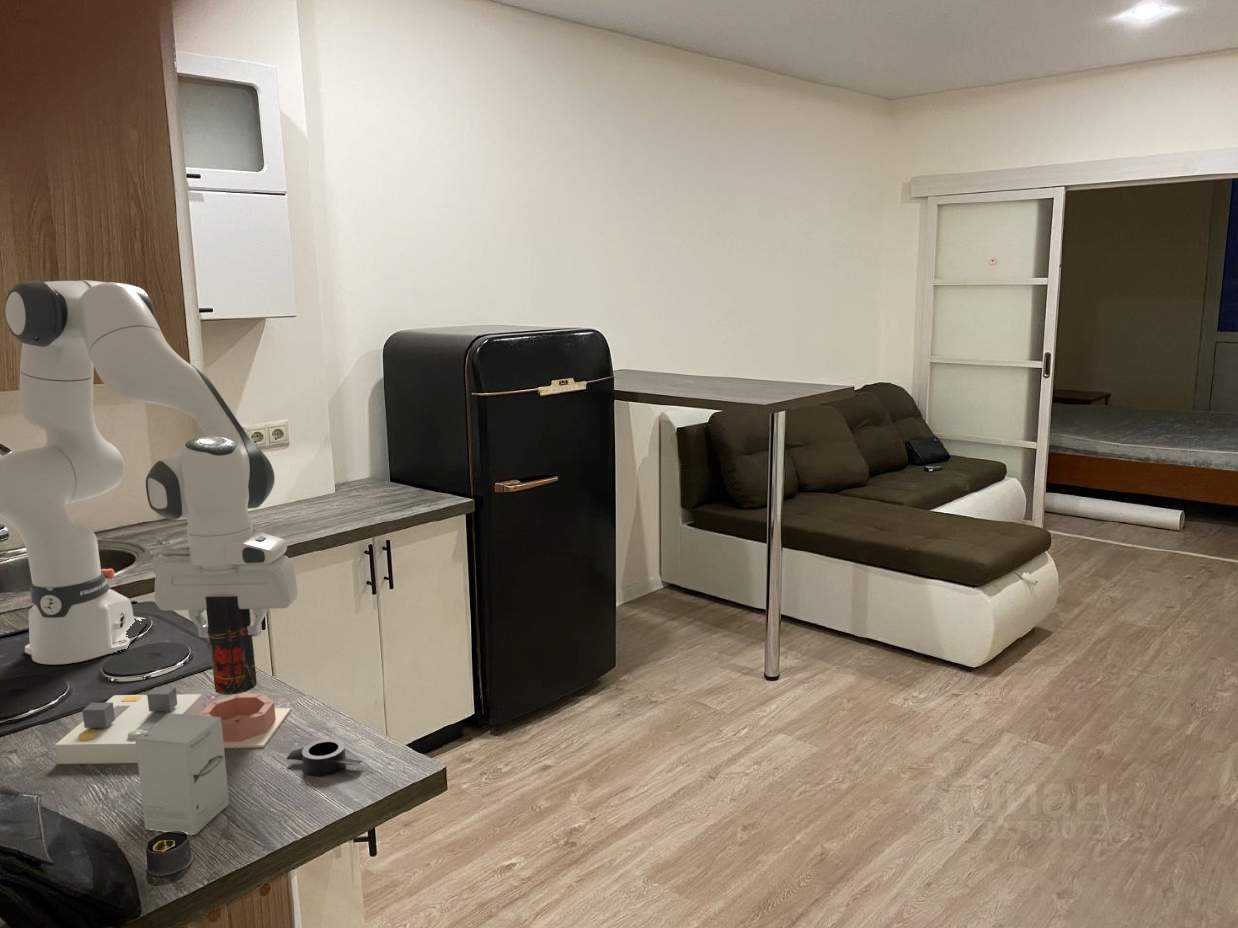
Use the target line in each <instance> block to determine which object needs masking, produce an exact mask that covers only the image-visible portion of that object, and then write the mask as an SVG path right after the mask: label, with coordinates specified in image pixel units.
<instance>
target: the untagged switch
mask: <svg viewBox="0 0 1238 928" xmlns="http://www.w3.org/2000/svg"><path fill="white" fill-rule="evenodd" d="M146 695H147V697H148V706H149V711H171V710H172V709H173V708H174V707H175V706H176V705H177V696H176V695H177V689H176V687H175V686H173V687H172V686H171V687H167V686H166V687H165V686H163V687H154V688H153V689H151V690H150V691H149V692H148V693H147V694H146Z"/></svg>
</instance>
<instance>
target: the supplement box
mask: <svg viewBox="0 0 1238 928" xmlns="http://www.w3.org/2000/svg"><path fill="white" fill-rule="evenodd" d="M135 742H136V751H137V759H138V763H137V768H138V776H139V785H140V794H141V802H142V813H143V821H144V829H145V830H146V829H153V830H163V831H184V832H187V833H188V834H190V833H191V834H193V835H195V834H196V835H197V834H198V833H199V832H200V831H201V830H202V829H203V828H205V826H206V825H207V824H208V823H210V822H211V821H212V820H213V819H214V818H215V817H217V816H218V815H219V814H220V813H221V812H223V811H224V809H226V808H227V807H228V806H229V805H230V798H229V787H228V786H229V785H228V774H227V766H226V765H227V764H226V757H225V756H226V755H225V748H224V743H223V732H222V723H221V717H212V716H201V715H187V714H175V713H174V714H172V715H170V716H169V717H167V718H166V719H164V720H163V721H161V722H160V723H159V724H157V725H156V726H154V727H153V728H151V729H150V730H148V731H147V732H145V733H144V734H142V735H141V736H140V737H138V738H136V739H135ZM196 835H195V836H196Z"/></svg>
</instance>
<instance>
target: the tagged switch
mask: <svg viewBox="0 0 1238 928" xmlns="http://www.w3.org/2000/svg"><path fill="white" fill-rule="evenodd" d="M81 711H82V718H83V719H82V721H84V727H85V728H106V727H108V726H109V725H110V724H111V723H112V722H113V721H114V720H115V716H114V708H113V703H105V702H90V703H89V704H88V705H87V706H85V708H83V709H82V710H81Z"/></svg>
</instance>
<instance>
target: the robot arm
mask: <svg viewBox="0 0 1238 928" xmlns="http://www.w3.org/2000/svg"><path fill="white" fill-rule="evenodd" d="M4 308H5V309H4V310H5V311H4V312H5V319H6V324H7V327H8V329H9V332H10V333H11V335H13V336H14V337H15V338H16V339H17V340H18V341H19V342H20V343H22V345H21V349H20V350H21V351H20V360H19V363H20V364H19V400H18V401H19V402H18V405H19V406H18V408H19V412H20V414H21V415H22V417H23V418H24V419H25V420H26V421H27V422H28V423H29V424H31V425H33V426H34V427H37V428H39V429H42V430H44V433H45V436H46V444H45V445H44V446H42V447H36V448H31V449H25V450H20V451H19V450H18V451H14V452H9V453H7V454H4V455H1V456H0V517H1V518H3V519H5V520H6V521H8V523H10V525H12V526H13V527H14V529H15V530H16V531H17V532H18V534H19V535H20V537H21V539H22V541H23V544H24V547H25V550H26V554H27V559H28V565H29V571H30V577H31V582H30V584H29V596H30V599H31V604H33V606H31V607H30V609H29V610H28V632H29V633H28V635H29V636H28V637H29V640H28V641H29V643H28V644H27V645H25V646H24V653H25V654H27V655H30V656H31V660H32V661H33V662H35V663H37V664H41V665H67V664H72V663H73V664H75V663H79V662H84V661H88V660H93V659H96V658H100V657H103V656H106V655H108V654H114V652H115V653H118V652H117V651H118V650H121V649H126V650H128V649H129V648H128V646H129V644H130V639H129V638H128V637H126V636H128V635H126V633H127V632H126V631H127V630H128V629H129V628H130V626H132V624H133V623H134V622H135V620H134V619H136V620H139V621H142V620H141V619H146V618H145V617H142V616H141V617H140V616H134V611H133V605H132V602H131V600H130V599H129V598H128V597H127V596H123V595H122V594H120V593H118V592H116V591H114V590H113V589H110V586H109V583H108V580H113V579H114V577H115V570H114V569H113V568H102V567H101V561H100V554H99V552H100V551H99V545H98V538H97V536H96V534H95V532H94V531H93V530H91V529H90V528H88V527H87V526H85V525H82V524H79V523H76V522H73V521H72V520H71V518H70V517H69V515H68V512H67V509H66V508H67V505H69V504H73V503H76V502H80V501H85V500H89V499H93V498H96V497H99V496H102V495H103V494H106V493H107V492H109V491H111V490H113V489H116V488H117V487H118V486H119V485H120V484H121V483H122V481H123V478H124V477H125V468H126V467H125V461H124V459H123V457H122V454H121V452H120V450H119V449H118V448H117V447H115V446H114V445H113V444H112V443H111V442H109V441H107V440H106V439H105V438H104V437H103V435H102V434H101V433H100V430H99V429H98V426H97V424H96V420H95V415H94V369H95V371H96V373H97V375H98V377H99V378H100V380H101V382H102V383H103V384H104V386H106V388H107V389H109V391H111V392H112V393H114V394H116V395H119V396H120V397H123V398H125V399H127V400H131V401H135V402H140V403H147V404H153V405H158V406H164V407H168V408H172V409H175V410H176V411H180V412H183V413H185V414H186V415H188V416H190V417H191V418H192V419H193V420H195V421H196V423H197V425H198V427H200V429H201V430H202V432H203V433H204V435H205V436H201V437H196V438H193V439H189V440H187V441H186V442H185V443H184V444H183V445H182V447H181V450H180V452H178V453H177V454H175V455H172V456H170V457H167V458H165V459H161V460H158V461H157V462H156V463H154V464H153V465H152V467H151V468H150V470H149V471H148V473H147V475H146V477H145V489H146V490H145V491H146V496H147V498H146V499H147V502H148V506H149V507H150V509H151V510H152V511H153V512H155V513H156V514H158V515H159V516H161V517H163V518H165V519H167V520H172V521H173V520H178V521H179V520H186V521H187V530H186V533H187V534H186V535H187V540H188V547H180V548H171V547H169V548H168V547H165V548H162V549H161V550H160V551H158V552H156V553H155V554H154V555H153V556H152V569H153V572H154V574H155V577H154V578H155V579H154V602H155V606H157V608H158V609H159V610H160V611H164V612H165V611H188V617H189V618H190V621H192V623H193V624H194V625H195V626H196V628H197V630H198V637H199V638H209V629H208V620H207V619H206V618H205V617H204V615H203V614H202V613H203V612H204V611H206V610H207V605H206V597H230V596H238V606H239V609H250V610H252V614H253V616H256V618H255V619H254V621H251V623H250V624H249V625H248V626H247V630H248V631H249V632H248V636H252V637H259V636H261V634H262V633H263V632H262V631H263V628H262V622H263V621H264V619H265V617H266V615H267V612H268V610H269V609H287V608H289V607H290V606H291V605H292V604H293V603H294V602H295V601H296V599H297V597H298V583H297V579H296V577H297V576H296V571H295V569H294V565H293V563H292V560H291V559H290V557H289V556H287V555H286V554H285V553H286V551H287V550H288V544H287V540H286V539H285V538H282V537H278V536H275V535H272V534H268V533H265V532H261V531H258V530H255V529H253V523H252V519H251V517H250V515H249V512H248V509H256V508H257V509H258V508H259V507H260V506H262V504H264V503H265V501H266V500H267V499H268V498H269V496H270V495H271V493H272V491H273V489H274V485H275V482H276V481H275V480H276V479H275V471H274V468H273V466H272V463H271V462H270V460H269V458H268V457H267V456H266V454H265V453H264V452H263V451H262V450H261V449H260V448H259V447H258V446H257V444H256V443H254V442H253V441H252V439H251V438H250V437H249V435H248V433H247V432H246V431H245V429H244V428H243V427H242V425H241V424H240V422H239V421H238V419H237V417H236V416H235V415H234V413H233V412H232V410H231V409H230V407H229V406H228V405H227V403H226V402H225V400H224V399H223V397H222V395H221V394H220V392H219V391H218V390H217V388H216V387H215V386H214V384H213V382H211V380H210V378H208V376H207V375H206V374H205V372H203V371H202V370H201V369H200V368H198V367H196V366H194V365H192V364H190V363H189V362H188V361H186V360H184V358H182V357H181V356H180V355H179V354H178V353H177V352H176V351H175V350H174V349H173V348H172V347H171V345H170V344H169V342H168V341H167V340H166V338H165V336H164V334H163V332H162V329H161V327H160V326H159V324H158V322H157V321H156V318H155V309H154V305H153V302H152V300H151V298H150V297H149V294H147V292H146V291H145V289H143V288H141V287H139V286H137V285H136V286H135V285H132V284H128V283H124V282H113V281H109V282H105V281H98V280H89V279H88V280H87V279H79V280H55V281H53V280H52V281H42V280H29V281H24V282H20V283H17V284H15V285H14V286H13V287H12V288H11V290H10V291H9V292H8V293H7V295H6V300H5V307H4ZM140 624H141V623H140ZM119 641H127V642H124V643H121V644H119V643H118V642H119ZM129 647H130V646H129ZM127 648H128V649H127Z"/></svg>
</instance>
